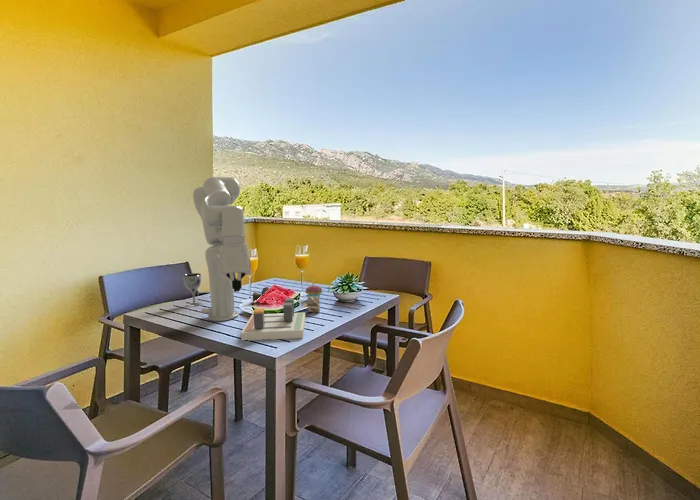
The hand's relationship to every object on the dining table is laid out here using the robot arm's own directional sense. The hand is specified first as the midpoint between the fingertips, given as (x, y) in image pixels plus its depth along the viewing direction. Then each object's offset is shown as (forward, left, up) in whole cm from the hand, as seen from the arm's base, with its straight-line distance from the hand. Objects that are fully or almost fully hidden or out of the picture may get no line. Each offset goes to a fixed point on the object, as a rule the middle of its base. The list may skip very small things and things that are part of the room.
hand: (237, 290), depth 135 cm
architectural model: (+26, +28, -18) cm, 43 cm away
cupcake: (+26, +50, -18) cm, 60 cm away
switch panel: (+12, +7, -18) cm, 23 cm away
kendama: (+1, +52, -18) cm, 55 cm away
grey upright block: (+7, 0, -14) cm, 16 cm away
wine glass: (-33, +49, -18) cm, 62 cm away
